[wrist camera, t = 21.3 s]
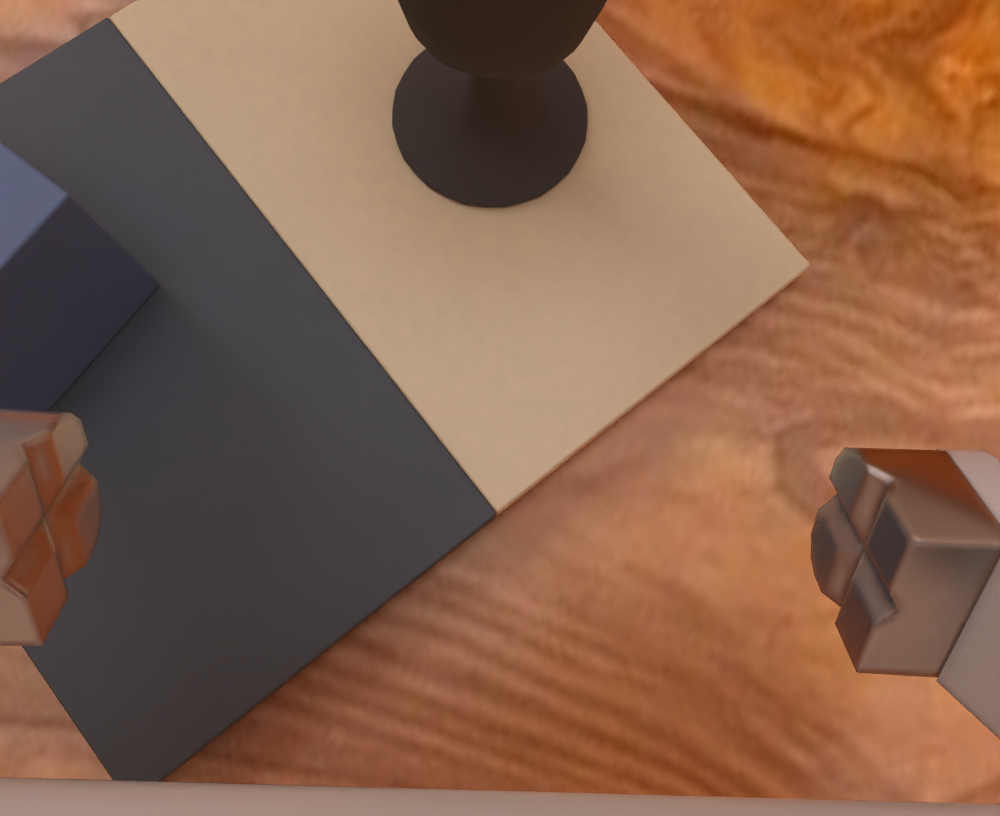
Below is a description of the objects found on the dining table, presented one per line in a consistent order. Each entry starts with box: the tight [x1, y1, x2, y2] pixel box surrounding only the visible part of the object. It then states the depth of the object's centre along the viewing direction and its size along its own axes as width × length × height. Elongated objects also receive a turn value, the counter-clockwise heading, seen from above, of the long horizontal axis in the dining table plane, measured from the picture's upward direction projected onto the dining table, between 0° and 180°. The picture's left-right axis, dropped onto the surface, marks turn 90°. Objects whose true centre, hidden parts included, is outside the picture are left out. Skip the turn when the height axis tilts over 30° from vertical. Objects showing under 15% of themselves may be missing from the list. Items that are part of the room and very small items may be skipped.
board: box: [0, 0, 810, 782], centre depth 22 cm, size 16×20×1 cm
